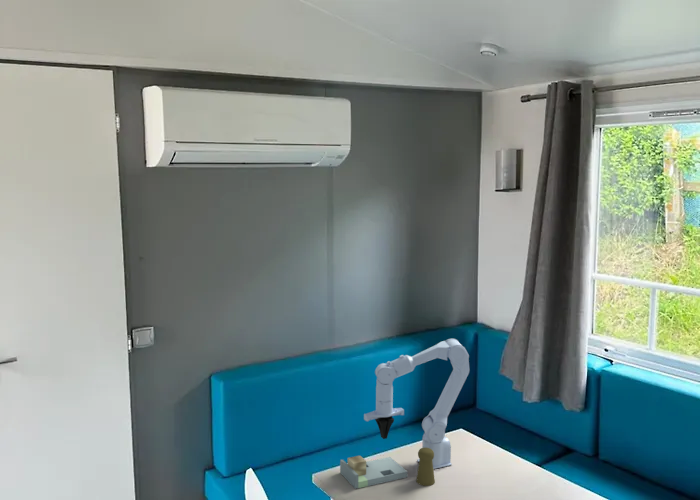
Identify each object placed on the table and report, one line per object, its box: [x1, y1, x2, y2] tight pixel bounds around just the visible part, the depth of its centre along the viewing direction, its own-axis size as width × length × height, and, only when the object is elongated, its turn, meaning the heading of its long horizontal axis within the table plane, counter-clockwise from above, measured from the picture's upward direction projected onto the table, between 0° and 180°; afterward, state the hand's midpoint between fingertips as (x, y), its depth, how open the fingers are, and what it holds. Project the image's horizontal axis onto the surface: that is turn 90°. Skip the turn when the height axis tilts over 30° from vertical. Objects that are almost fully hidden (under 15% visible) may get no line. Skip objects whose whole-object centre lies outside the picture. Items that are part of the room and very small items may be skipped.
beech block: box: [347, 455, 367, 476], centre depth 203 cm, size 5×5×5 cm
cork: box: [415, 447, 436, 487], centre depth 201 cm, size 6×6×11 cm
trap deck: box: [339, 456, 408, 490], centre depth 206 cm, size 19×12×4 cm, turn 115°
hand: (383, 437), depth 212 cm, fingers closed
